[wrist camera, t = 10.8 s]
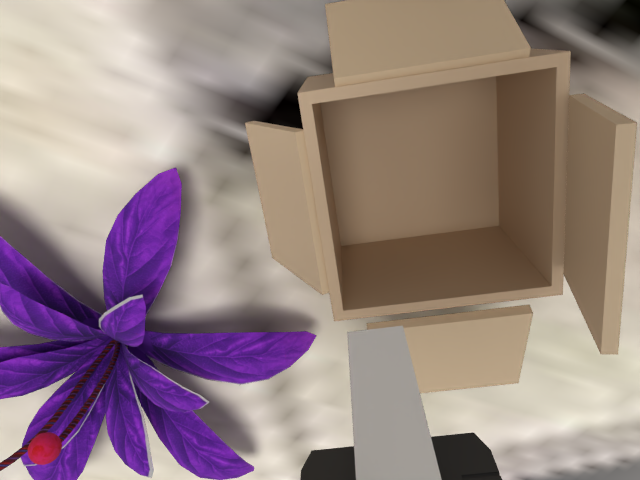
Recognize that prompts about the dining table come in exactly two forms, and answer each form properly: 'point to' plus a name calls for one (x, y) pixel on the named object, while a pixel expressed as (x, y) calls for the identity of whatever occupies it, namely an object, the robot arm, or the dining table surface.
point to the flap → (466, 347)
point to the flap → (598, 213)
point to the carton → (421, 161)
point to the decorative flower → (125, 354)
